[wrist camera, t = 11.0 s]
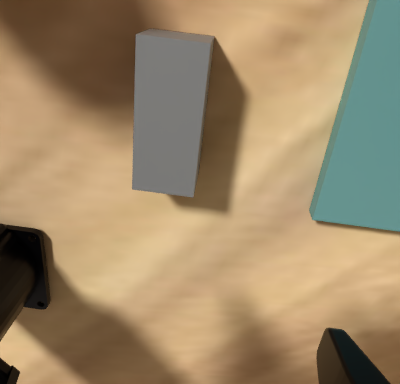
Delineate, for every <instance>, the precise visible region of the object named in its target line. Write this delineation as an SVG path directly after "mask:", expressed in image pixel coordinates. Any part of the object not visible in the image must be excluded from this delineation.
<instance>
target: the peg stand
mask: <svg viewBox="0 0 400 384" xmlns="http://www.w3.org/2000/svg"><path fill="white" fill-rule="evenodd" d="M309 211H310V214H311V217H312V220H318V221H325V222H332V223H340V224H347V225H355V226H362V227H370V228H377V229H384V230H392V231H399V232H400V0H369V3H368V7H367V10H366V14H365V17H364V21H363V24H362V28H361V31H360V35H359V38H358V42H357V45H356V49H355V52H354V55H353V59H352V62H351V66H350V69H349V73H348V76H347V80H346V83H345V87H344V90H343V94H342V97H341V101H340V104H339V108H338V111H337V115H336V118H335V122H334V125H333V129H332V132H331V136H330V139H329V143H328V146H327V150H326V153H325V157H324V160H323V164H322V167H321V171H320V174H319V178H318V181H317V185H316V188H315V192H314V195H313V199H312V202H311V206H310V209H309Z"/></svg>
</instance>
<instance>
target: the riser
mask: <svg viewBox="0 0 400 384" xmlns="http://www.w3.org/2000/svg"><path fill="white" fill-rule="evenodd" d="M213 45H214V36H208V35H200V34H192V33H184V32H176V31H168V30H160V29H148V30H145V31H143V32H140V33H137V34H136V47H135V91H134V134H133V178H132V189H134V190H141V191H149V192H156V193H163V194H171V195H178V196H186V197H194V193H195V188H196V183H197V178H198V173H199V166H200V157H201V148H202V140H203V131H204V123H205V114H206V105H207V97H208V88H209V79H210V71H211V62H212V53H213Z"/></svg>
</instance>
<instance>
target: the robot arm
mask: <svg viewBox="0 0 400 384" xmlns="http://www.w3.org/2000/svg"><path fill="white" fill-rule="evenodd" d="M32 236H34V237H35V238H36V239H35V238H33V237H32ZM49 304H50V293H49V284H48V275H47V266H46V257H45V249H44V240H43V234H42V233H41V232H40V231H39V230H37V229H34V228H26V227H19V226H12V225H4V224H0V341H1V340H2V338H3V337H4V335H5V334H6V332H7V331H8V329H9V328H10V326H11V325H12V324H13V322H14V321H15V319H16V318H17V316H18V315H19V313H20V312H21V310H22V309H23V307H28V308H35V309H46V308H47V307H48V306H49ZM317 368H318V379H319V384H390V382H389V381H388V380H387V379H386V378H385V377H384V376H383V374H382V373H381V372H380V371H379V370H378V369H377V367H376V366H375V365H374V364H373V363H372V362H371V361H370V359H369V358H368V357H367V356H366V355H365V354H364V352H363V351H362V350H361V349H360V348H359V347H358V345H357V344H356V343H355V342H354V341H353V340H352V339H351V337H350V336H349V335H348V334H347V333H346V332H345V331H344V330H342V329H336V328H326V329H325V331H324V333H323V336H322V339H321V342H320V344H319V347H318V350H317ZM19 374H20V371H19V370H17V369H16V368H15V367H14V366H10V365H8V364H7V363H6V362H5V361H3V360H2V359H1V358H0V384H16V383H17V380H18V377H19Z"/></svg>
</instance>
